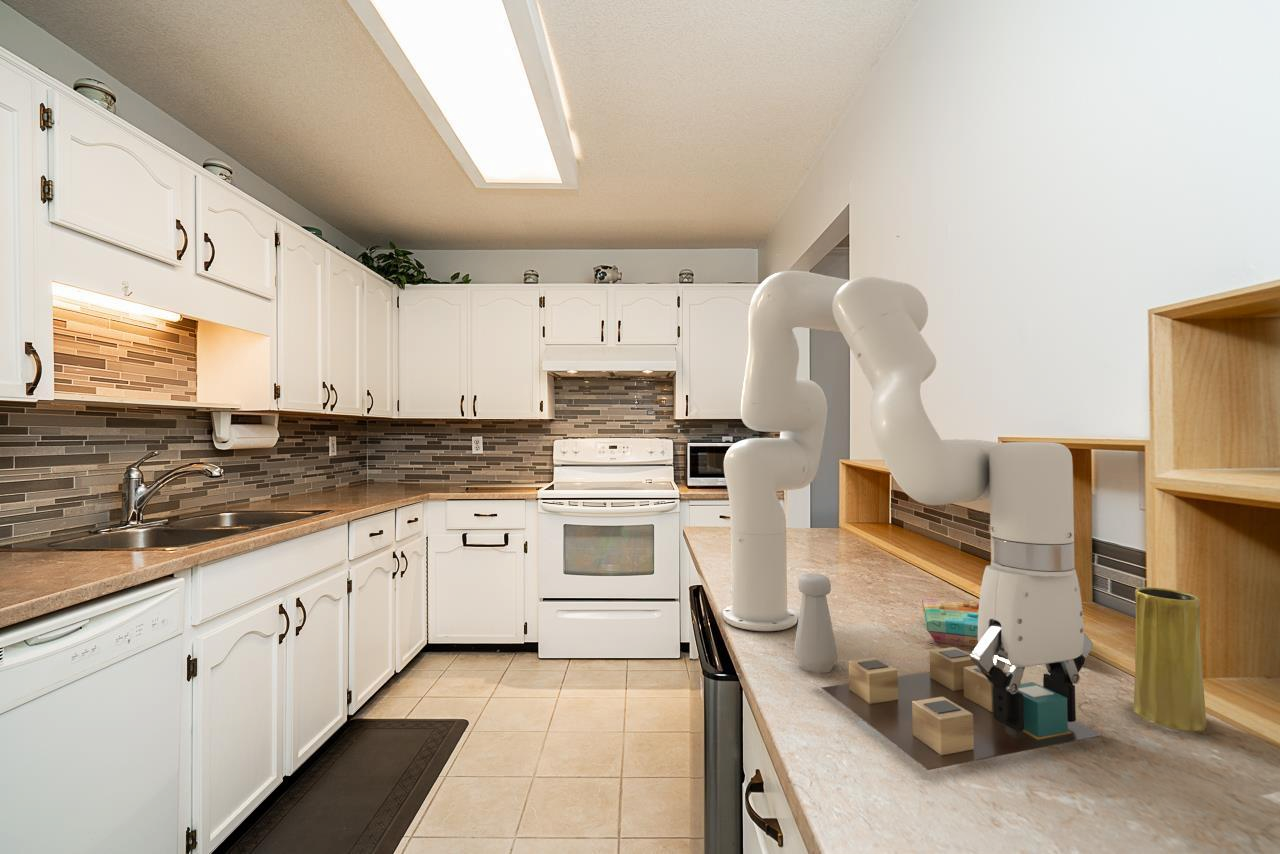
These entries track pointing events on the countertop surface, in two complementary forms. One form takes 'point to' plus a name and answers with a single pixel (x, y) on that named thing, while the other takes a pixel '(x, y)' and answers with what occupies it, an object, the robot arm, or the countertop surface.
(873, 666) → the light wood cube
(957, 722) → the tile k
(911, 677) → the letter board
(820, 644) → the salt shaker
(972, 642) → the puzzle game
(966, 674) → the tile
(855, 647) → the countertop surface
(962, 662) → the tile
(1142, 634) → the vase
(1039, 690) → the tile
